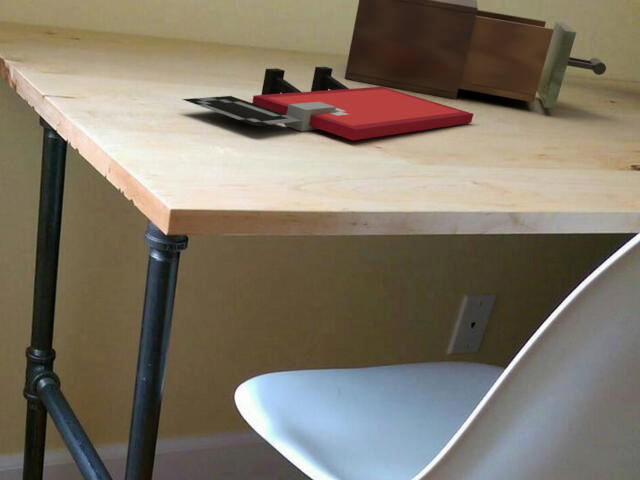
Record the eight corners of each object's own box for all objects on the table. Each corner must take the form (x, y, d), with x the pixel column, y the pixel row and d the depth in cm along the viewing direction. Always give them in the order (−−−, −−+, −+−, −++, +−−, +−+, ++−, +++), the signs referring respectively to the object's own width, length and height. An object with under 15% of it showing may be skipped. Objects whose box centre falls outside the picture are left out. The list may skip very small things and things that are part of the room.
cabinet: (457, 82, 117) (477, 0, 113) (455, 99, 104) (478, 7, 100) (357, 63, 119) (373, -17, 115) (344, 78, 106) (361, -12, 102)
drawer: (584, 99, 114) (605, 29, 110) (597, 117, 102) (621, 39, 98) (449, 74, 116) (465, 5, 113) (447, 89, 105) (465, 13, 101)
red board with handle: (164, 104, 78) (299, 153, 69) (168, 72, 76) (306, 118, 68) (351, 90, 100) (469, 127, 92) (356, 65, 99) (477, 100, 90)
